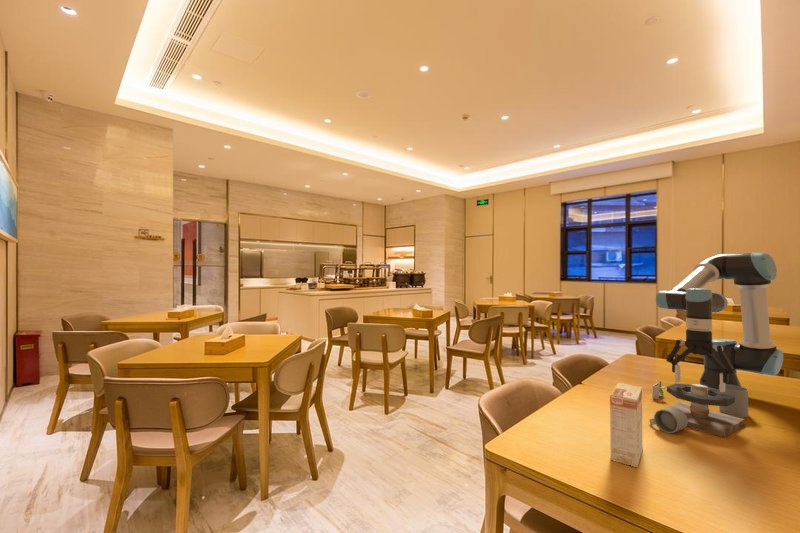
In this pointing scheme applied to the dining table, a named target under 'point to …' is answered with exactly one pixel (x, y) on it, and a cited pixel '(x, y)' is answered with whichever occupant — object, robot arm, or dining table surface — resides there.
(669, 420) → the ceramic mug
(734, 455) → the dining table surface
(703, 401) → the ring
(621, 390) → the coffeecake box
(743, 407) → the cup
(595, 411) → the dining table surface
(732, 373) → the robot arm
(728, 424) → the pipe stand
